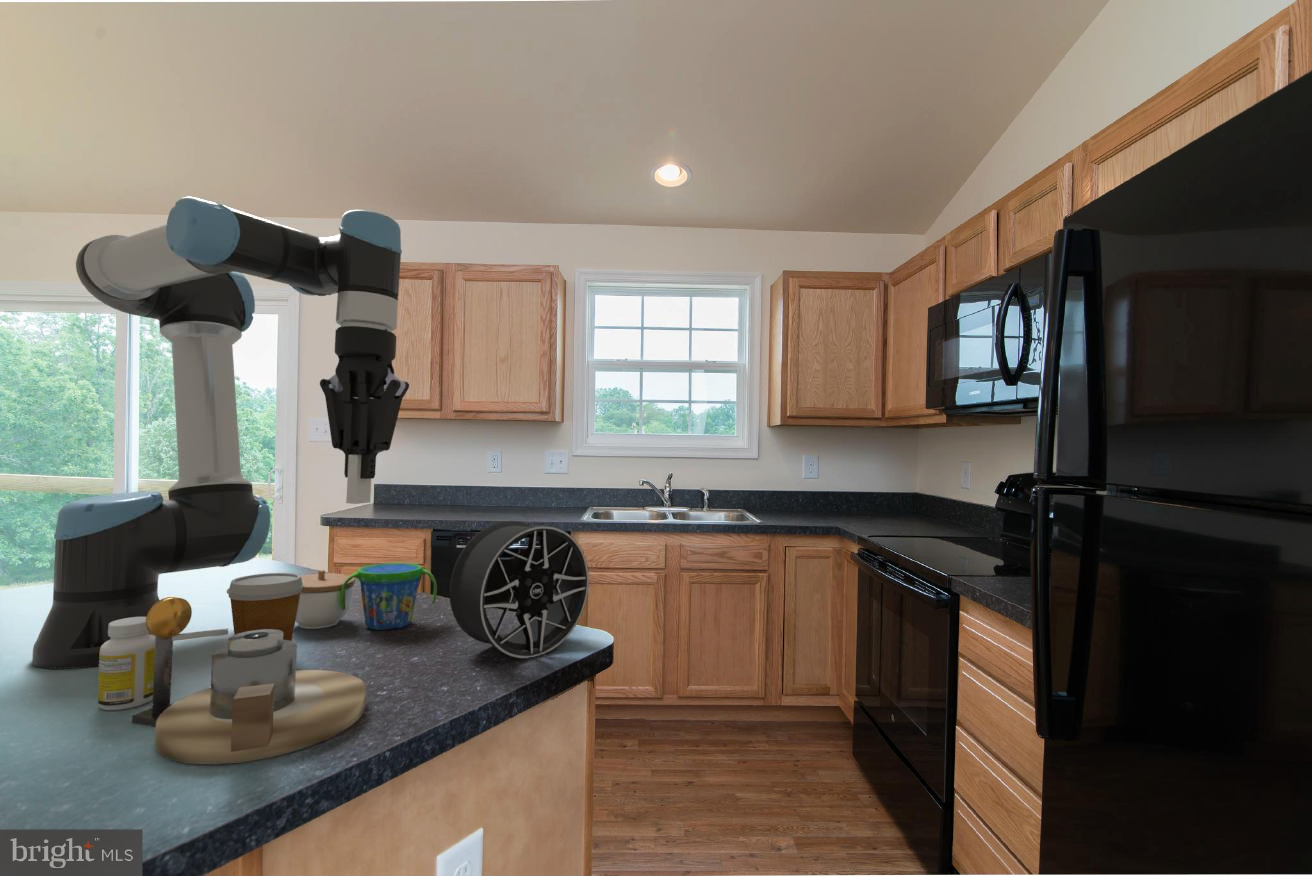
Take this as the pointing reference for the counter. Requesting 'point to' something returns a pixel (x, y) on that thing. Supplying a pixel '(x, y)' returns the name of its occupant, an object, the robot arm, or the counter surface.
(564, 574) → the wheel rim
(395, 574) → the snack cup
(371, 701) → the counter surface
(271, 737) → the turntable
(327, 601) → the lidded jar
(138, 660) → the supplement bottle
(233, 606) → the disposable coffee cup
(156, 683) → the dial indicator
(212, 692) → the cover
